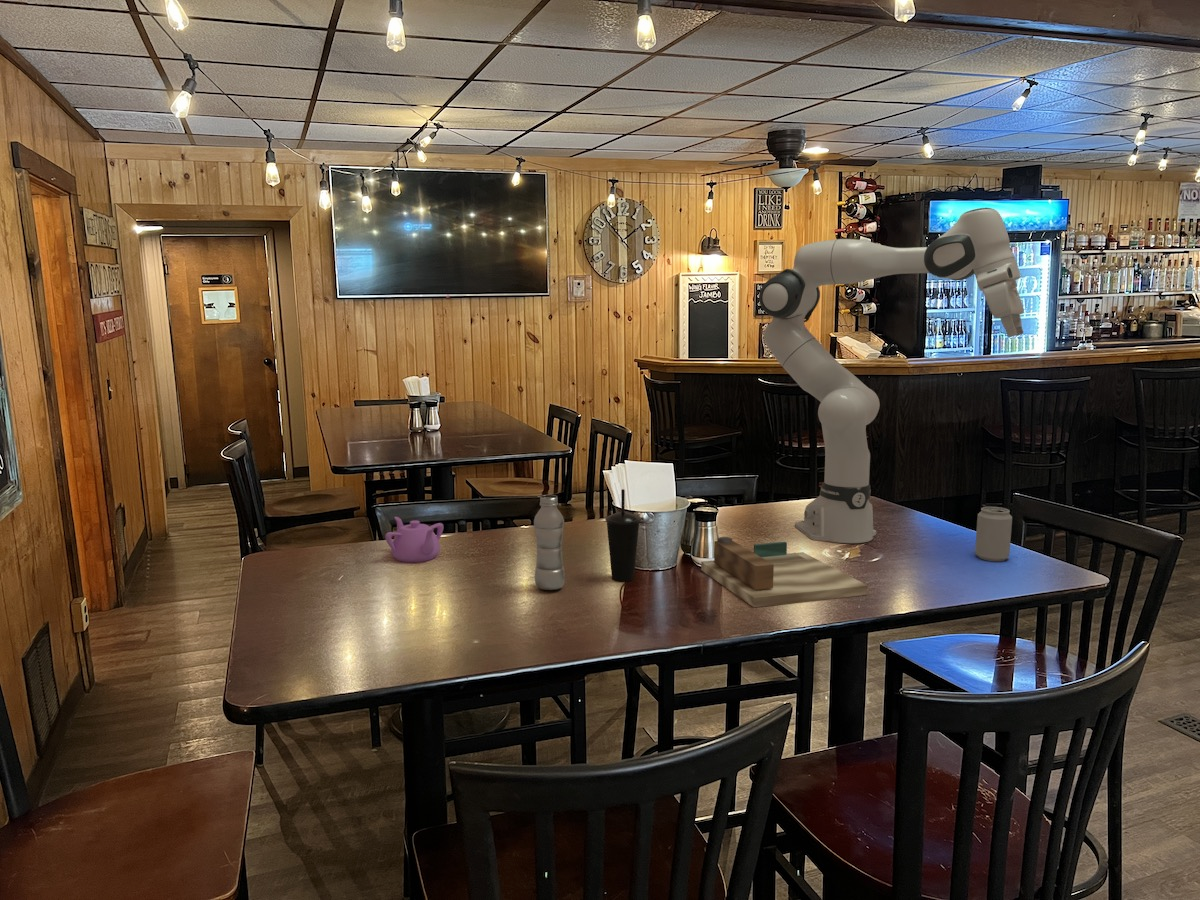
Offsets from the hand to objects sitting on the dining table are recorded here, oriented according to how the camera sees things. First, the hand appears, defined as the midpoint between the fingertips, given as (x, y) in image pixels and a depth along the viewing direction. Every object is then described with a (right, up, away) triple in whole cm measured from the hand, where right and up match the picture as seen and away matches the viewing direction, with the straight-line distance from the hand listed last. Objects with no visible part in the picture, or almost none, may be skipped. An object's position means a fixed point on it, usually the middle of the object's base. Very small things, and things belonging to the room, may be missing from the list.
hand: (1016, 335), depth 196 cm
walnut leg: (-63, -52, -9) cm, 83 cm away
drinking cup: (-89, -54, -4) cm, 104 cm away
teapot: (-138, -52, +13) cm, 148 cm away
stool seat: (-55, -54, -7) cm, 77 cm away
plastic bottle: (-104, -55, -11) cm, 119 cm away
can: (-1, -52, +11) cm, 53 cm away
